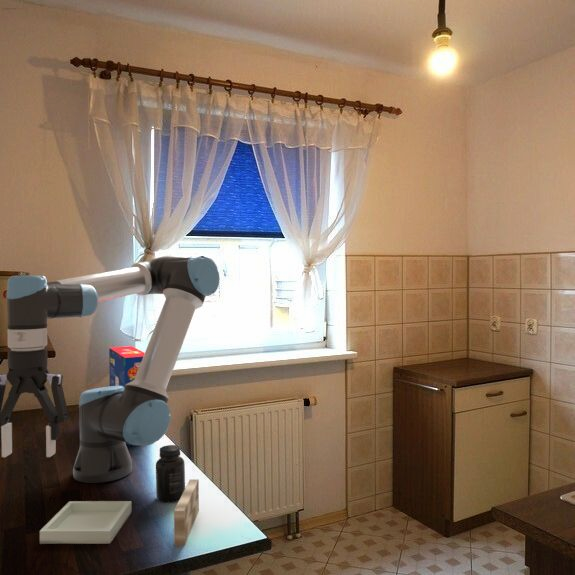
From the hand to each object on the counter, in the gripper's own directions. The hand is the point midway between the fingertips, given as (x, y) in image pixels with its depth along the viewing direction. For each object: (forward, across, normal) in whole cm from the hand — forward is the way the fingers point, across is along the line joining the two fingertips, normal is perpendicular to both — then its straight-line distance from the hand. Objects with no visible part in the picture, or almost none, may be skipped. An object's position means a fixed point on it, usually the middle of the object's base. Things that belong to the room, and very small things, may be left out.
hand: (29, 454), depth 111 cm
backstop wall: (+15, +33, 0) cm, 37 cm away
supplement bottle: (+16, +26, +15) cm, 34 cm away
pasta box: (+16, 0, +68) cm, 70 cm away
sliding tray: (+15, +12, 0) cm, 20 cm away
